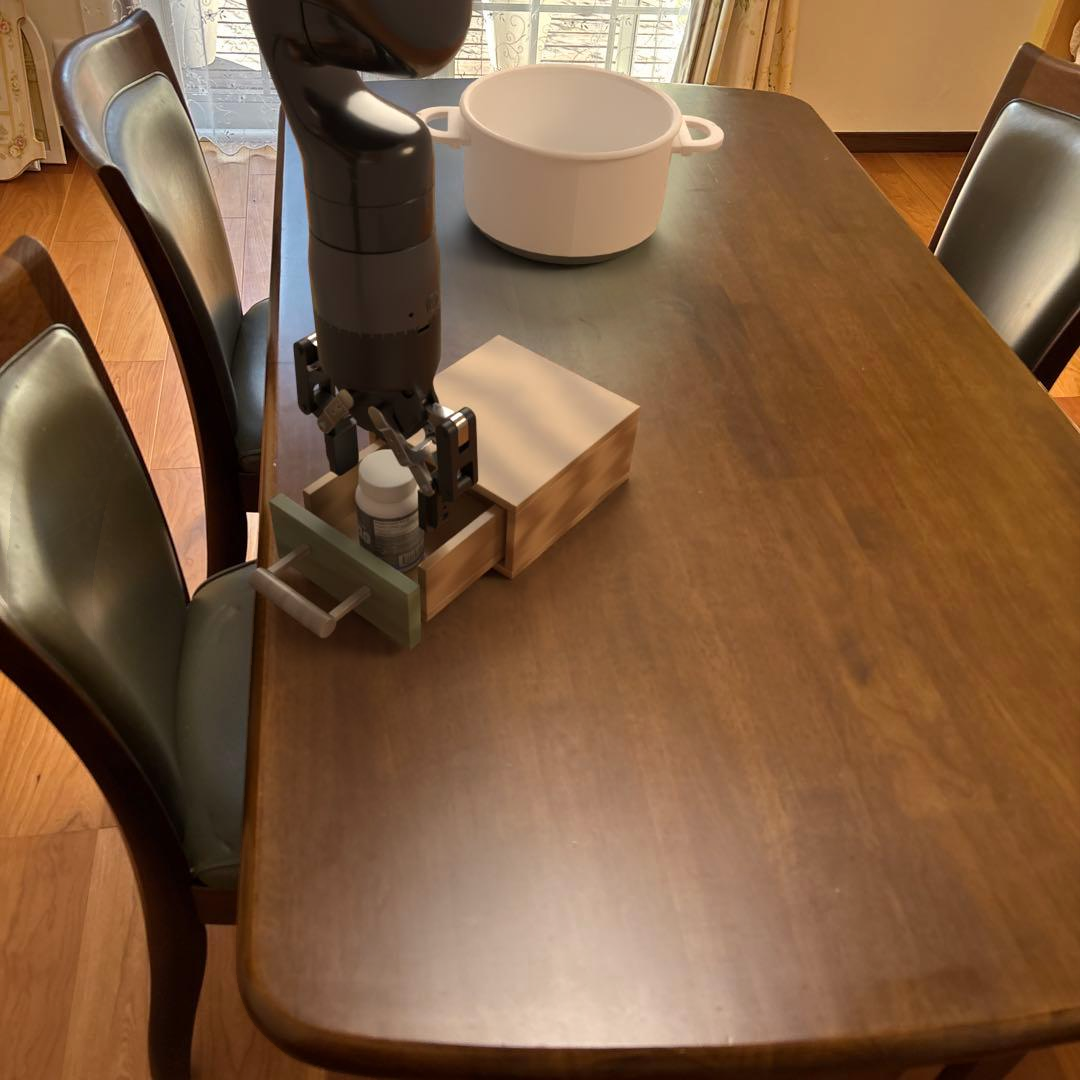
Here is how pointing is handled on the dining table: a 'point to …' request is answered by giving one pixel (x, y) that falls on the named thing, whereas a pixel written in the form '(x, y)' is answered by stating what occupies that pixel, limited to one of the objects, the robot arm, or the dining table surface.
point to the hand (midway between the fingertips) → (388, 496)
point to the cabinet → (537, 442)
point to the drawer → (375, 558)
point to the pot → (567, 158)
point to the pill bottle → (389, 511)
